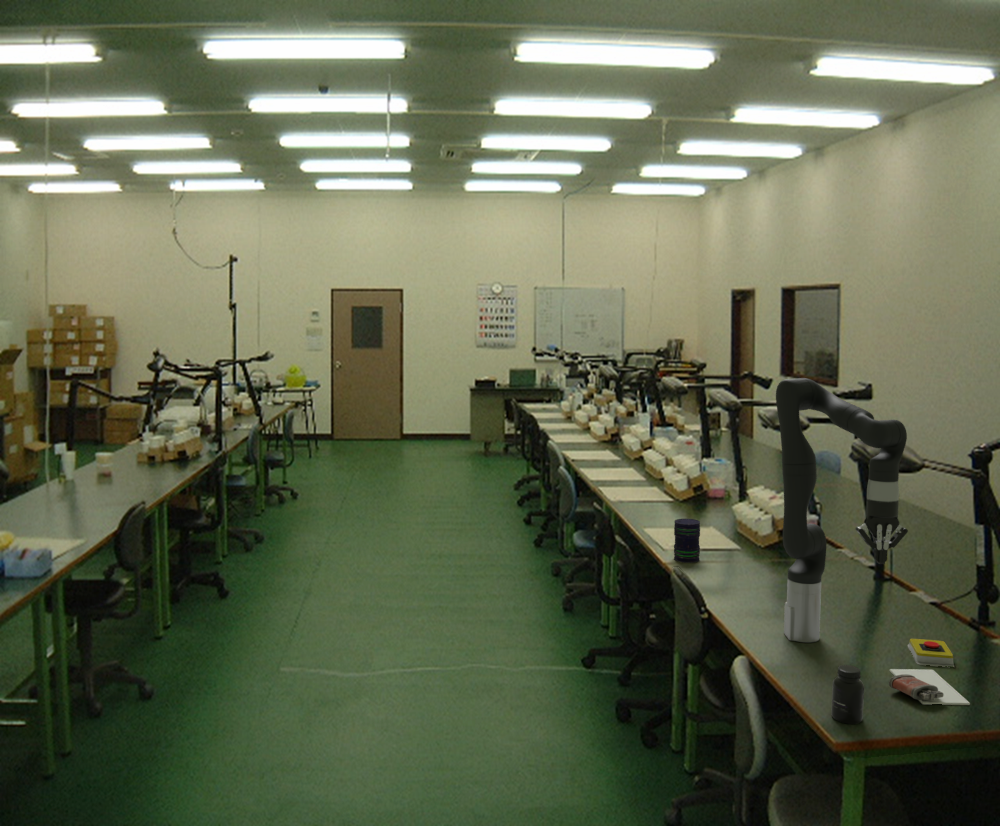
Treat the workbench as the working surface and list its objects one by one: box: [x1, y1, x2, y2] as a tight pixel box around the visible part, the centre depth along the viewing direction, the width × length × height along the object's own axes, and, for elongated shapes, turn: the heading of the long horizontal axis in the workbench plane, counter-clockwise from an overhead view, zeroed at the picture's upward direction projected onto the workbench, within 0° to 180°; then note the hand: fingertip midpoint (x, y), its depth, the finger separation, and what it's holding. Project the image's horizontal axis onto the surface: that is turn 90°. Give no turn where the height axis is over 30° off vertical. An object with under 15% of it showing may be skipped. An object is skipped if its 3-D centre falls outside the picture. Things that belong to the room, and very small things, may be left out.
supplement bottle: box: [830, 664, 865, 725], centre depth 201 cm, size 7×7×12 cm
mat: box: [889, 668, 971, 706], centre depth 218 cm, size 11×20×1 cm, turn 177°
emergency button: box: [906, 638, 955, 668], centre depth 238 cm, size 9×4×15 cm
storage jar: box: [673, 518, 701, 564], centre depth 335 cm, size 10×10×15 cm
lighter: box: [888, 674, 944, 701], centre depth 212 cm, size 8×3×10 cm
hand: (880, 563), depth 225 cm, fingers closed
